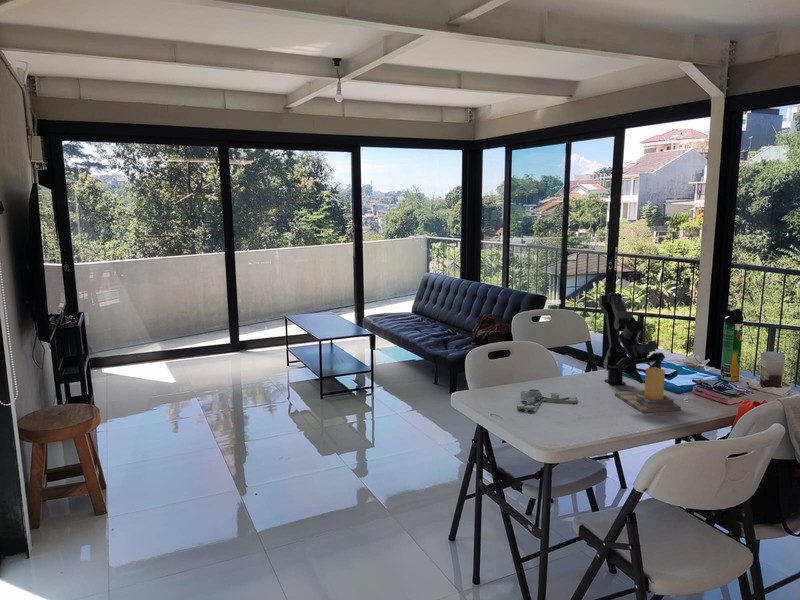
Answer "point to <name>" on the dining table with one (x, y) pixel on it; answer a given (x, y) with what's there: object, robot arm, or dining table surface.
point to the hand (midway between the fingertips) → (651, 381)
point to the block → (654, 384)
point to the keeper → (646, 402)
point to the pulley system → (537, 395)
